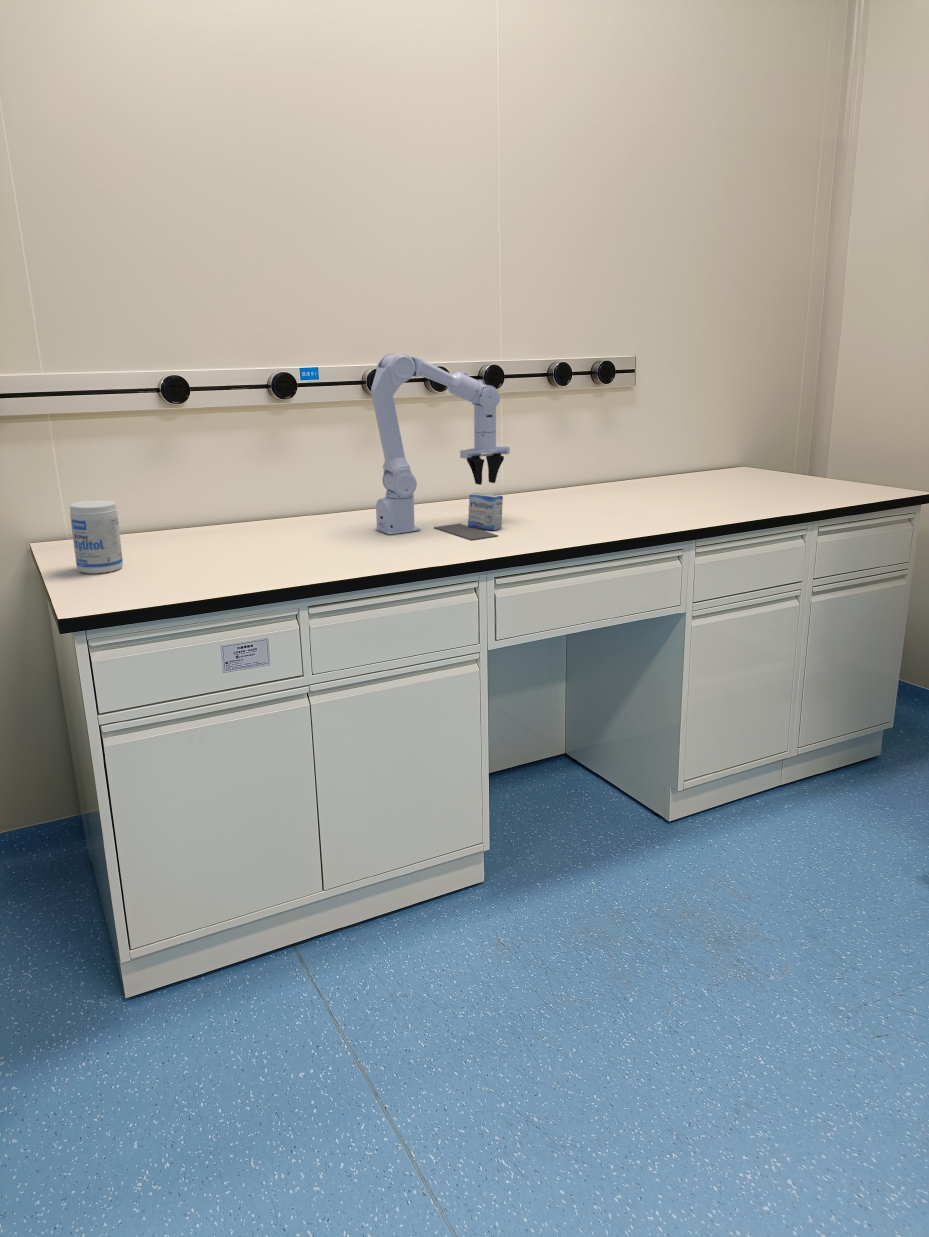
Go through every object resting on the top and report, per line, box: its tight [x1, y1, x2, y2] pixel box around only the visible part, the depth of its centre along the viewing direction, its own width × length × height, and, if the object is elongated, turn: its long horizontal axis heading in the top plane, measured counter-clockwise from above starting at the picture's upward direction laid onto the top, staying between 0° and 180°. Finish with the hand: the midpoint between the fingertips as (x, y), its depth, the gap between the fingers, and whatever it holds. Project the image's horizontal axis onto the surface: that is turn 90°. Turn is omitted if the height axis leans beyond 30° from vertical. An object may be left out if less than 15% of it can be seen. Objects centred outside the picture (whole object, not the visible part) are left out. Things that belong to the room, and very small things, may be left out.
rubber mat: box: [433, 522, 499, 541], centre depth 230 cm, size 8×18×1 cm, turn 33°
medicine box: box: [467, 492, 504, 531], centre depth 233 cm, size 8×4×9 cm, turn 62°
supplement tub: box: [69, 499, 124, 575], centre depth 195 cm, size 10×10×15 cm
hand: (485, 483), depth 240 cm, fingers open, 4 cm apart
